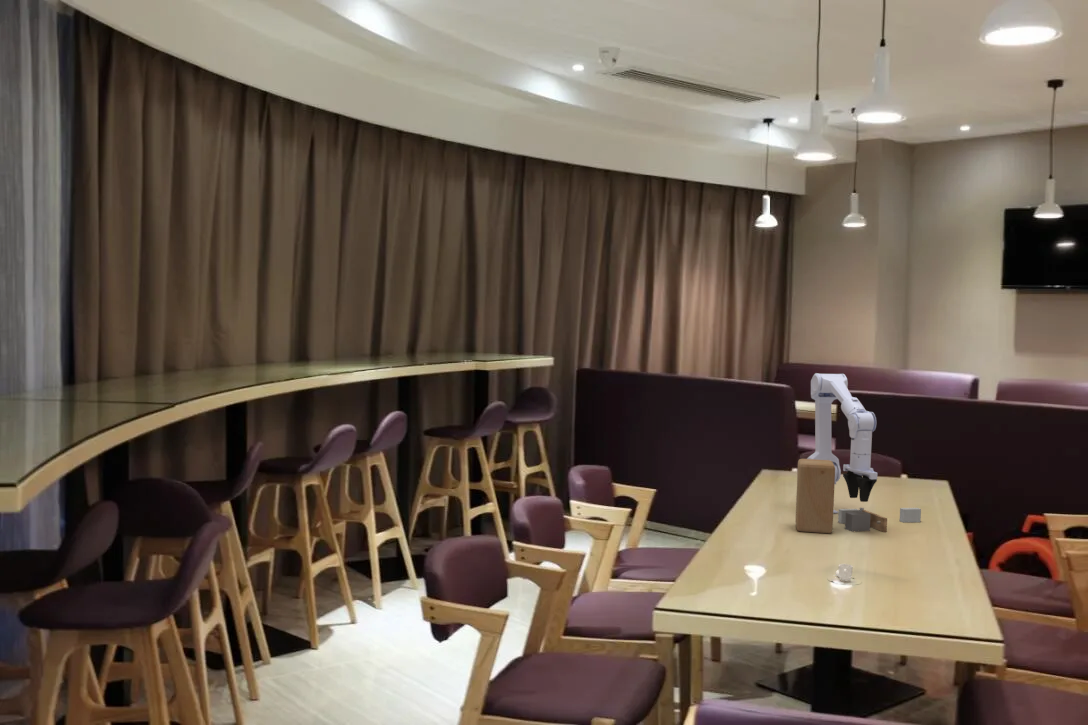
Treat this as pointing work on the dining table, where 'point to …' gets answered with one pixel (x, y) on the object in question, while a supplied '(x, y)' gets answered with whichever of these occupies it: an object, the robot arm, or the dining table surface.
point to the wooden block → (815, 495)
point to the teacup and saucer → (844, 572)
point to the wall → (905, 514)
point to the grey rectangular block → (857, 521)
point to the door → (877, 521)
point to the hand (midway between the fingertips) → (858, 499)
